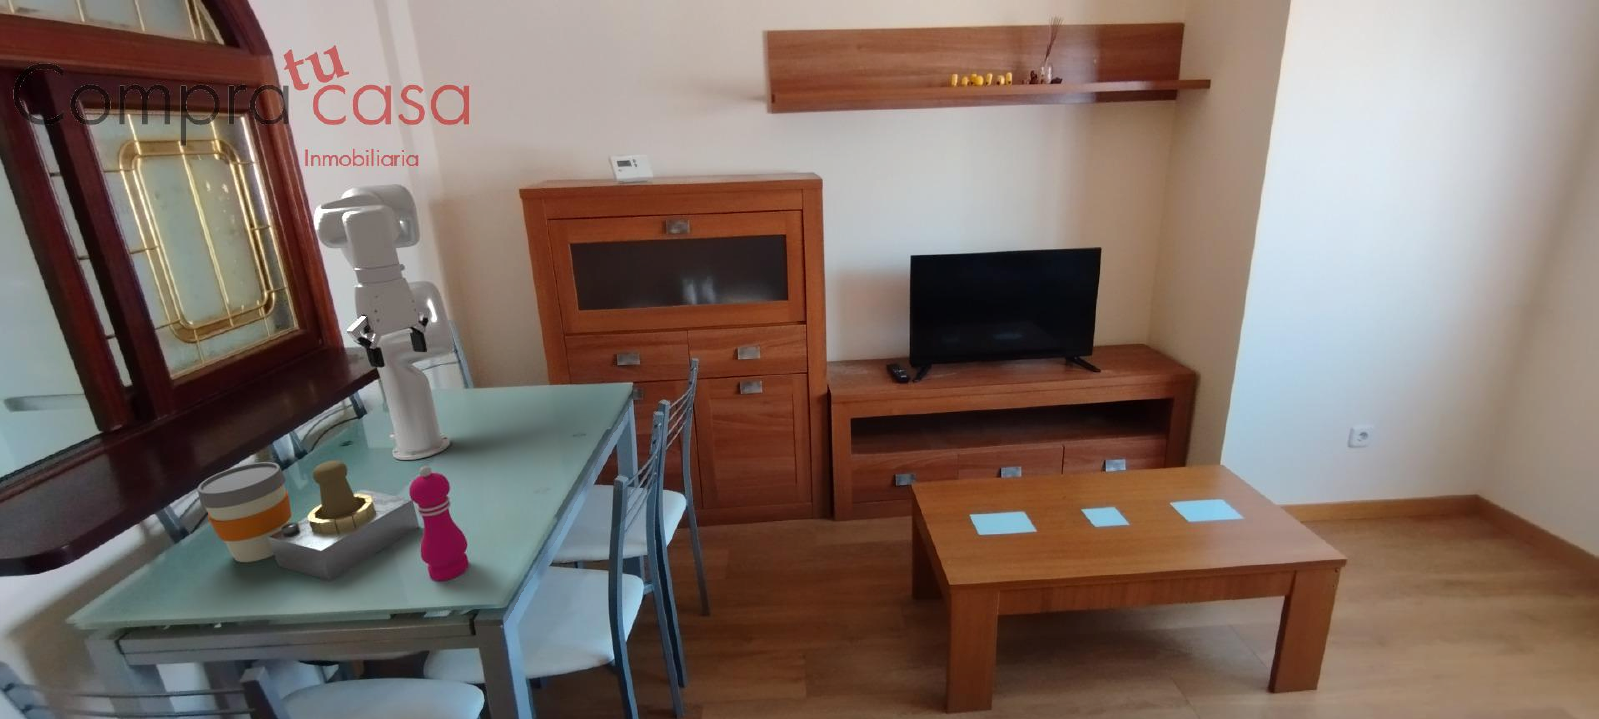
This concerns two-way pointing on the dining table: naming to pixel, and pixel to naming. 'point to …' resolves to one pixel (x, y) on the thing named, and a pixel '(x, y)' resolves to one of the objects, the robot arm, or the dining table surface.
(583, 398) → the dining table surface
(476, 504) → the dining table surface
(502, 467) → the dining table surface
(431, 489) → the pepper mill
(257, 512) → the reusable coffee cup
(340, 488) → the cork
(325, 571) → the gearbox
